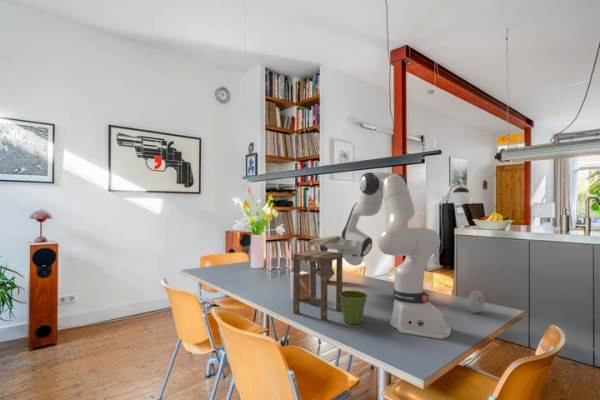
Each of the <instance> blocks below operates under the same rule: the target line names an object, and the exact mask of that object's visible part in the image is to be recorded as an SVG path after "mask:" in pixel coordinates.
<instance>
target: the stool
mask: <svg viewBox="0 0 600 400" xmlns="http://www.w3.org/2000/svg"><path fill="white" fill-rule="evenodd" d="M342 256H343V253H338V252H335V251H328V250H327V251H320V250H316V249H311V250H307V251H301V252H298V253H293V272H294V280H293V299H292V300H293V301H292V302H293V304H292V309H293V310H292V311H293V312H292V313H293V314H295V315H297V314H300V312H301V311H300V304H301V303H300V301H301V300H300V272H301V261H310V262H309V263H310V265H309V266H310V271H309V273H310V287H309V304H310V306H316V305H317V302H316V301H317V273H316V269H317V262H321V277H320V281H321V282H320V320H321V321H324V322H325V321H327V320H328V281H327V268H328V262H329V261H335V260H336V265H335V266H336V268H335V269H336V273H335V274H336V279H335V280H336V288H335V289H336V291H335V294H336V295H335V296H336V297H335V298H336V299H335V307H336V308H335V310H336V311H337V312H343V309H342V302H341V298H340V295H339V293H340V292H342V291H343V257H342Z"/></svg>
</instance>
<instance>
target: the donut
mask: <svg viewBox="0 0 600 400" xmlns="http://www.w3.org/2000/svg"><path fill="white" fill-rule="evenodd" d="M467 304H468V308H469V310H470V311H471V312H472V313H474V314H479V313H481V312H482V311H483V308H484V306H485V296H484V294H483V292H481V290H473V291H472V292H471V293H470V295H469V297H468V302H467Z"/></svg>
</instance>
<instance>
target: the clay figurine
mask: <svg viewBox="0 0 600 400" xmlns="http://www.w3.org/2000/svg"><path fill="white" fill-rule="evenodd" d="M319 251H327V252H328V248H326V247H325V246H324V245H319ZM333 261H334V260H333ZM333 261H329V262H328V268H327V283H328V282H329V283H330V282H331V280H330V279H332V277H333V276H334V275H335V270H334V268H333ZM316 275H317V276H319V277H320V278H321V262H316ZM320 283H321V280H320Z"/></svg>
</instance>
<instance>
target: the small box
mask: <svg viewBox="0 0 600 400" xmlns="http://www.w3.org/2000/svg"><path fill="white" fill-rule="evenodd" d="M289 274H290V275H289V277H290V280H289V281H290V282H289V283H290V284H289V289H290V290H289V295H290V296H289V298H290V299H292V300H293V280H294V271H293V272H290V273H289ZM307 299H308V300H310V272H306V271H305V270H300V301H302V300H307Z"/></svg>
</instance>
